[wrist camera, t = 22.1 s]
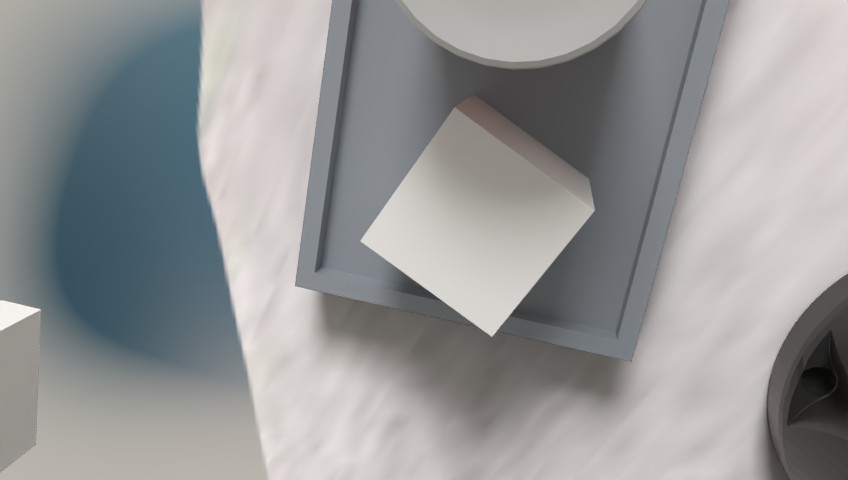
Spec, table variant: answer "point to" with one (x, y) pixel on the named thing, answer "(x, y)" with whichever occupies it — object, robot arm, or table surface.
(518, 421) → the table surface
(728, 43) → the table surface
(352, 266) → the grey tray
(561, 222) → the light grey cube
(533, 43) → the canned food
